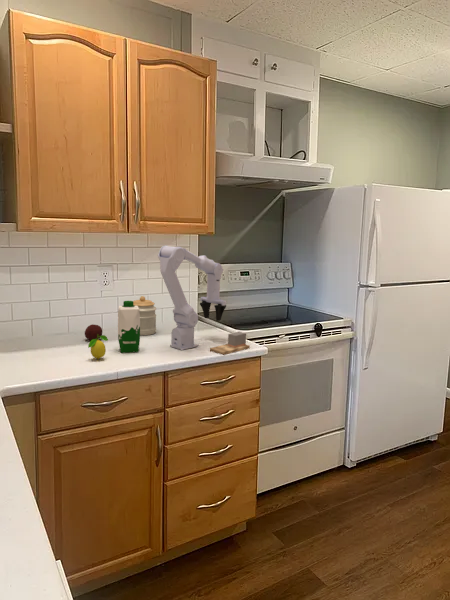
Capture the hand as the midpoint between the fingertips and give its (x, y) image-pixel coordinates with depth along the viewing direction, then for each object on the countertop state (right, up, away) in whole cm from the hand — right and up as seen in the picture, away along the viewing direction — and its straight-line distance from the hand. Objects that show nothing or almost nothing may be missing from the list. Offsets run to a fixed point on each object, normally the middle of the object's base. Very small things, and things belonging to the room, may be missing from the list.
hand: (212, 319), depth 211 cm
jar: (-34, -7, +13) cm, 37 cm away
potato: (-52, -9, -4) cm, 53 cm away
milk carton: (-34, -12, -19) cm, 41 cm away
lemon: (-43, -14, -32) cm, 55 cm away
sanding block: (+11, -11, -10) cm, 18 cm away
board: (+8, -12, -13) cm, 19 cm away
